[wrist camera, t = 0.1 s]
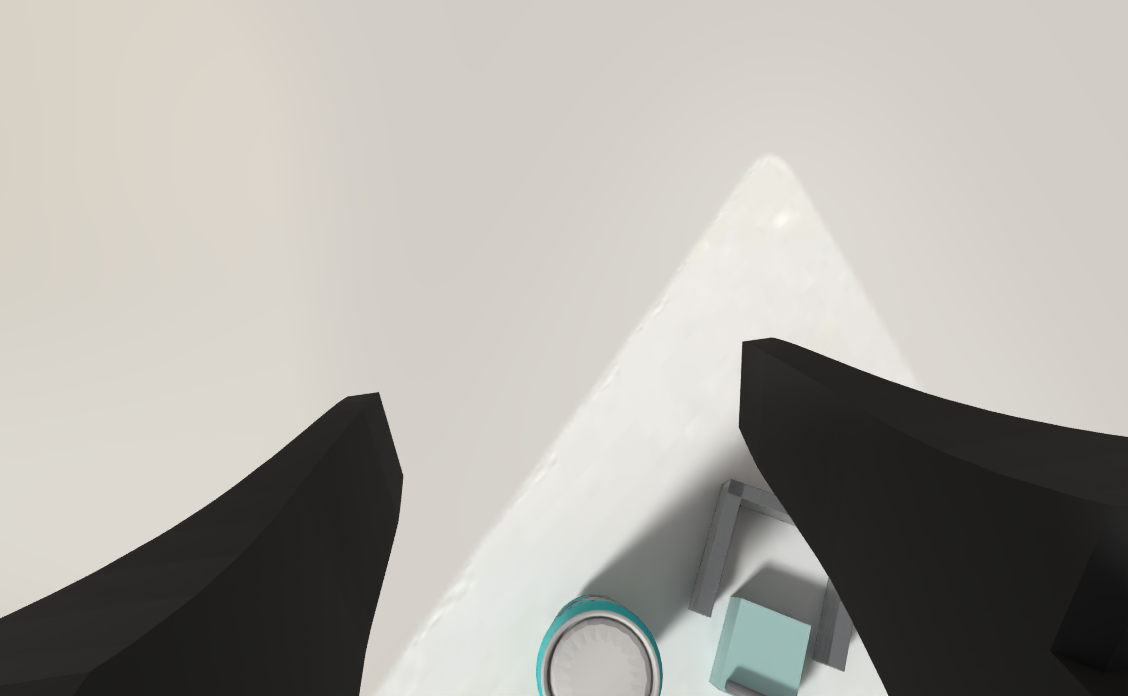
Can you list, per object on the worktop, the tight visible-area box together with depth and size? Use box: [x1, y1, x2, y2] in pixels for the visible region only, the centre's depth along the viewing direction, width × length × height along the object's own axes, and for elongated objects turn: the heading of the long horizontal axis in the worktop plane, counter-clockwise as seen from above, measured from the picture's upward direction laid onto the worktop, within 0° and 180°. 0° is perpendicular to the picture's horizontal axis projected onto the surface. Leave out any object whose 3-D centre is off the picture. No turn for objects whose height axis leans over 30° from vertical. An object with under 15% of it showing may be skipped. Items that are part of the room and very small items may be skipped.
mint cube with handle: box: [709, 597, 811, 696], centre depth 36 cm, size 6×4×4 cm
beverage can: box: [536, 595, 663, 696], centre depth 31 cm, size 6×6×15 cm
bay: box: [689, 479, 853, 671], centre depth 38 cm, size 9×10×2 cm
